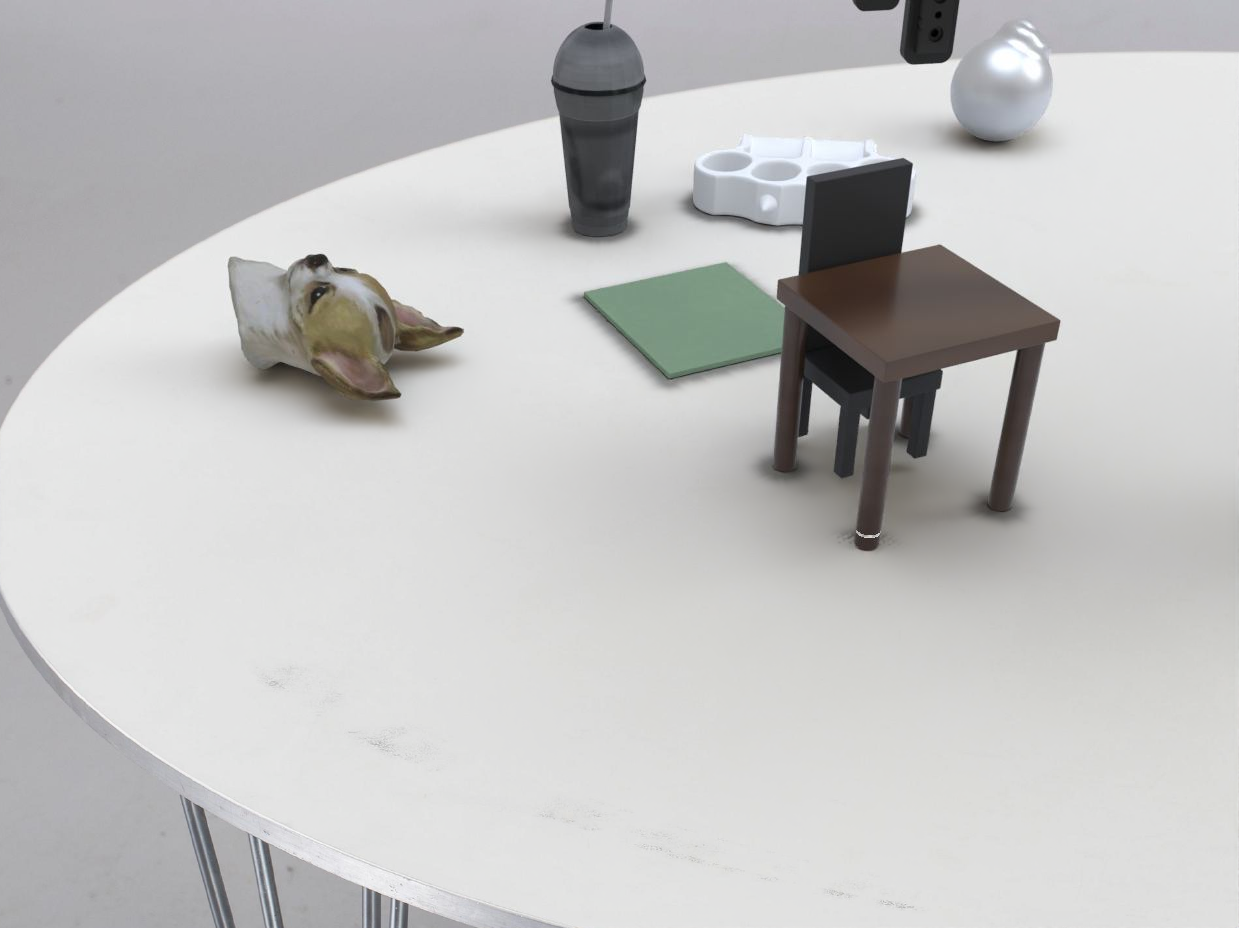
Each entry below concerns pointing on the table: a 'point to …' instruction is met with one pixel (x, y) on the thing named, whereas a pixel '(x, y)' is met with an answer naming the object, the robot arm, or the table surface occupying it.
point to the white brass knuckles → (774, 175)
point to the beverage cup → (599, 122)
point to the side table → (910, 353)
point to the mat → (694, 318)
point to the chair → (844, 234)
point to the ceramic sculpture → (327, 323)
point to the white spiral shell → (1004, 83)
